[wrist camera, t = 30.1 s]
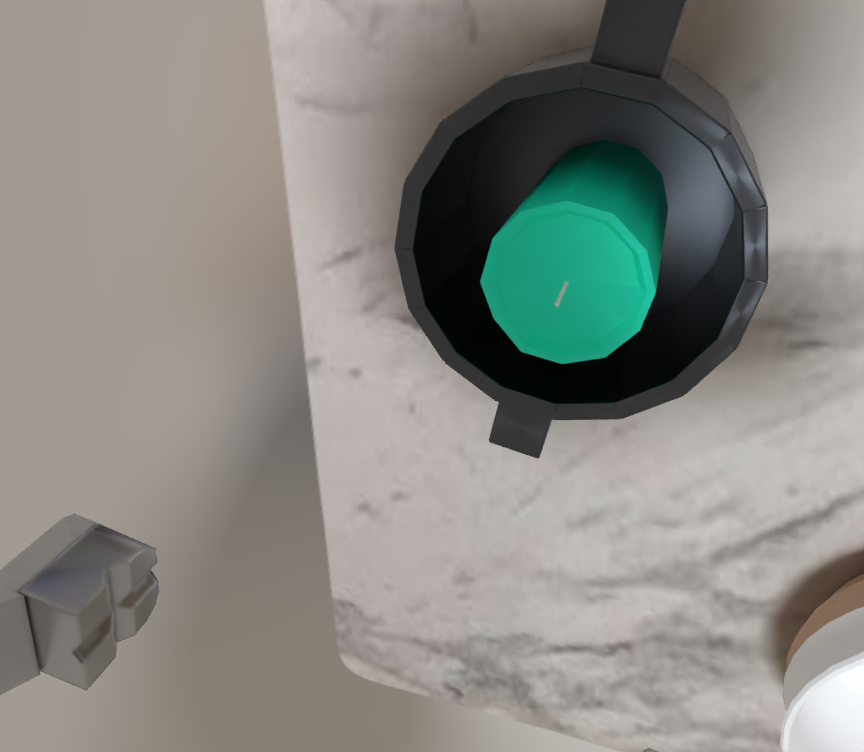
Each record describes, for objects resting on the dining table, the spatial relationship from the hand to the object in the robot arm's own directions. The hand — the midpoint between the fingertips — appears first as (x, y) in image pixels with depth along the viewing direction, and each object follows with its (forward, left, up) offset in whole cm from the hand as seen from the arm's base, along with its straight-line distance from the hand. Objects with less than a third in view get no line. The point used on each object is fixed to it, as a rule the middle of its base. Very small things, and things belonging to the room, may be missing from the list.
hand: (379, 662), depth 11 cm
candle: (0, 0, -27) cm, 27 cm away
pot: (0, 0, -27) cm, 27 cm away
